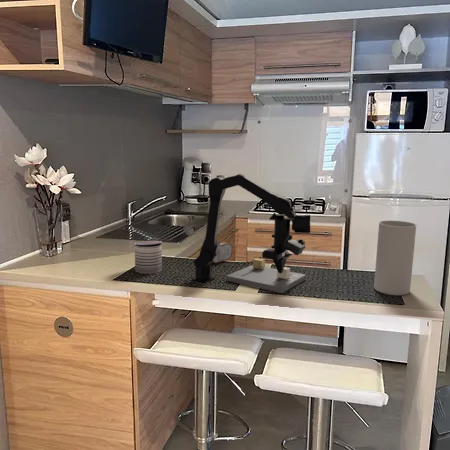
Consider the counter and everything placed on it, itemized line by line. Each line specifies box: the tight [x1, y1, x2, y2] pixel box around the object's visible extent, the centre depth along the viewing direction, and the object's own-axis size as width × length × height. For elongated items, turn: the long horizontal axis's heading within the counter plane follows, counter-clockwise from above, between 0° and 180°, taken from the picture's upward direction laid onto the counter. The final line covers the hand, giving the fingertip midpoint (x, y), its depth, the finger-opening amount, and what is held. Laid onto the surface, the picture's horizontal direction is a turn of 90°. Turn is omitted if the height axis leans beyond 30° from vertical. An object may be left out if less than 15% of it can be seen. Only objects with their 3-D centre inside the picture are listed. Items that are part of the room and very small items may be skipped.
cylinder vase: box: [373, 220, 417, 296], centre depth 168 cm, size 12×12×25 cm
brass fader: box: [252, 257, 266, 269], centre depth 187 cm, size 3×4×4 cm
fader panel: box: [226, 264, 307, 294], centre depth 179 cm, size 20×24×2 cm
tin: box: [211, 241, 233, 264], centre depth 205 cm, size 15×3×8 cm, turn 141°
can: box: [133, 240, 163, 275], centre depth 190 cm, size 11×11×12 cm
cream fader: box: [277, 266, 291, 279], centre depth 175 cm, size 3×4×4 cm
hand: (280, 272), depth 173 cm, fingers closed
